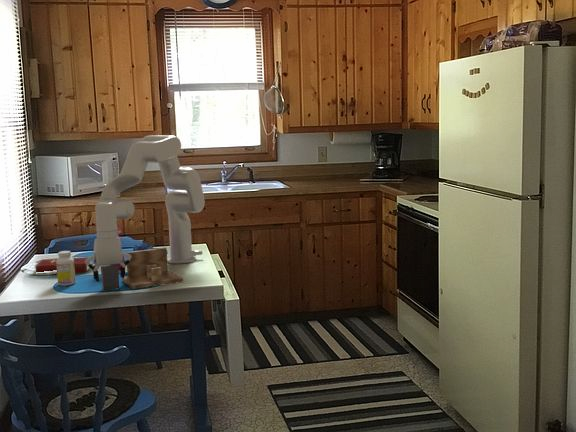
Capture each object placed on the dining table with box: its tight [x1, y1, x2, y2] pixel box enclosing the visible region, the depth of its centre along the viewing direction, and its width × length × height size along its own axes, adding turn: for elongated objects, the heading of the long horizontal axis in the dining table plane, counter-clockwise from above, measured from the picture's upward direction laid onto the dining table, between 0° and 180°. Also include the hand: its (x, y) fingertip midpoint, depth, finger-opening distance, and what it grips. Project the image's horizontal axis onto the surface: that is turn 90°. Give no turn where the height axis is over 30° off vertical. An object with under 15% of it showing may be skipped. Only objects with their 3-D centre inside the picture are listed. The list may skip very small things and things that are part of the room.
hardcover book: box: [34, 256, 90, 273], centre depth 296 cm, size 12×21×4 cm, turn 97°
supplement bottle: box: [56, 250, 76, 287], centre depth 270 cm, size 7×7×13 cm
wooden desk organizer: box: [121, 247, 184, 290], centre depth 271 cm, size 20×15×12 cm
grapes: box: [130, 242, 154, 252], centre depth 289 cm, size 12×7×12 cm, turn 94°
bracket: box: [100, 264, 120, 292], centre depth 262 cm, size 6×2×9 cm, turn 118°
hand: (109, 279), depth 261 cm, fingers open, 9 cm apart
